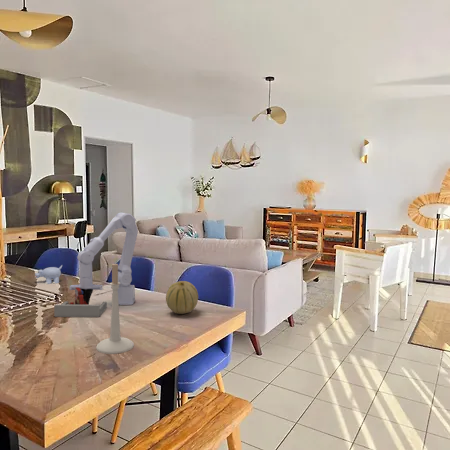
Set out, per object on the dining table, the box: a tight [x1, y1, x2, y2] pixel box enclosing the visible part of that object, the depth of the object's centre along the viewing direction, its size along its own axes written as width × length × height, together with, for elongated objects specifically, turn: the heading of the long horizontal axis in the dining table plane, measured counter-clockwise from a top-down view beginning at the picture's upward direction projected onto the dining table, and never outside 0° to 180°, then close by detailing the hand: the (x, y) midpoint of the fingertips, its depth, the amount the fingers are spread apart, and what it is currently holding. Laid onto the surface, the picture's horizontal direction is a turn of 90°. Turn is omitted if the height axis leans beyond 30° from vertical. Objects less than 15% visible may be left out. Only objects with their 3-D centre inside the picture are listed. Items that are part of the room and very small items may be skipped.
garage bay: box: [53, 300, 108, 318], centre depth 184 cm, size 19×14×5 cm
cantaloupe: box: [165, 280, 199, 315], centre depth 185 cm, size 15×15×15 cm
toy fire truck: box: [69, 288, 88, 305], centre depth 184 cm, size 7×12×10 cm, turn 29°
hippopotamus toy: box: [34, 264, 63, 285], centre depth 241 cm, size 11×15×10 cm
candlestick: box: [96, 263, 135, 355], centre depth 144 cm, size 13×13×30 cm
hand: (86, 304), depth 191 cm, fingers closed
